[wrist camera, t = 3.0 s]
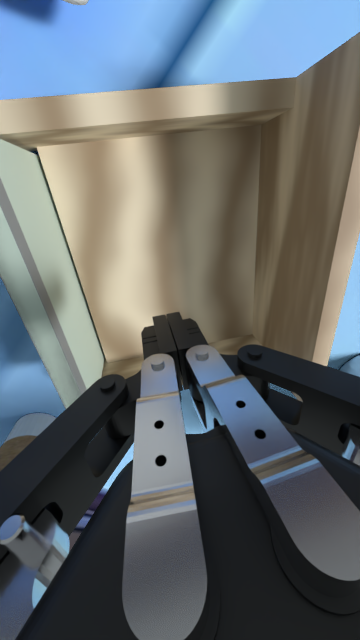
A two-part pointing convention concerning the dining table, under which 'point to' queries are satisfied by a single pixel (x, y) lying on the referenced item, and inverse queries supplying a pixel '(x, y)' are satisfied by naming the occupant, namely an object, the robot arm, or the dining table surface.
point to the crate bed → (208, 204)
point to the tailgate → (45, 276)
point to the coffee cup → (23, 435)
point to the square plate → (77, 2)
